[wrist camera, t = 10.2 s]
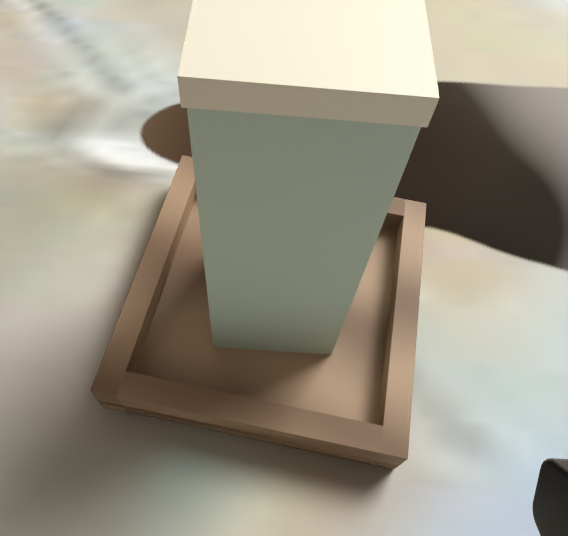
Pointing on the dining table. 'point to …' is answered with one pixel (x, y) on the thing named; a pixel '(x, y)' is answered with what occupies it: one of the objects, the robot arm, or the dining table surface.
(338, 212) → the tea tin
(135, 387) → the walnut tray
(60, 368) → the dining table surface
